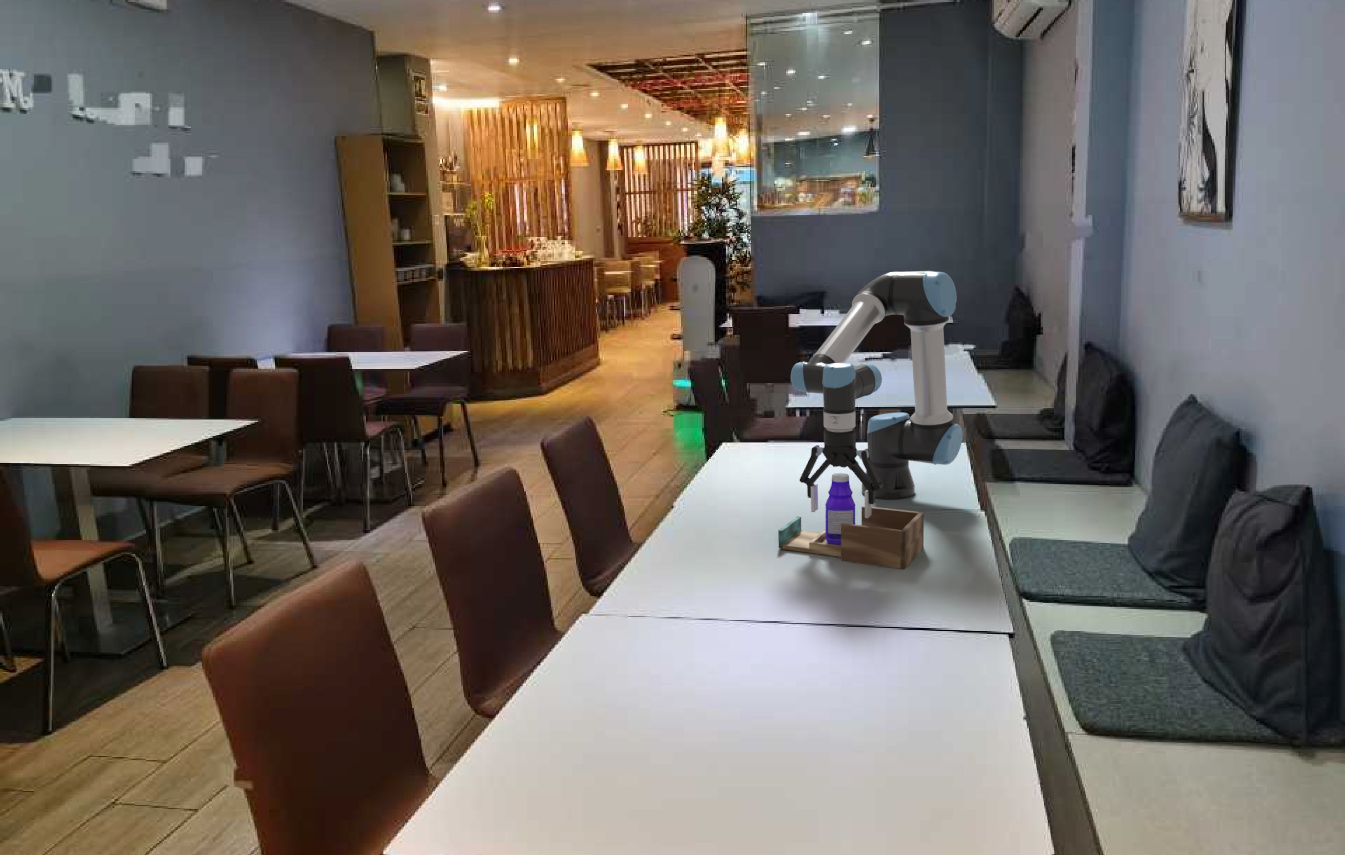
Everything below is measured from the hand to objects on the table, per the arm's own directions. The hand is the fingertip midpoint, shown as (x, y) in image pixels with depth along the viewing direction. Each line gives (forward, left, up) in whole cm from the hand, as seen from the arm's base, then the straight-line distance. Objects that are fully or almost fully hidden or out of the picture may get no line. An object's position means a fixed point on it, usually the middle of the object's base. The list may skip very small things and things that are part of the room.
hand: (841, 513), depth 235 cm
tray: (0, -3, -9) cm, 9 cm away
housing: (0, +10, -9) cm, 14 cm away
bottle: (0, 0, -8) cm, 8 cm away
